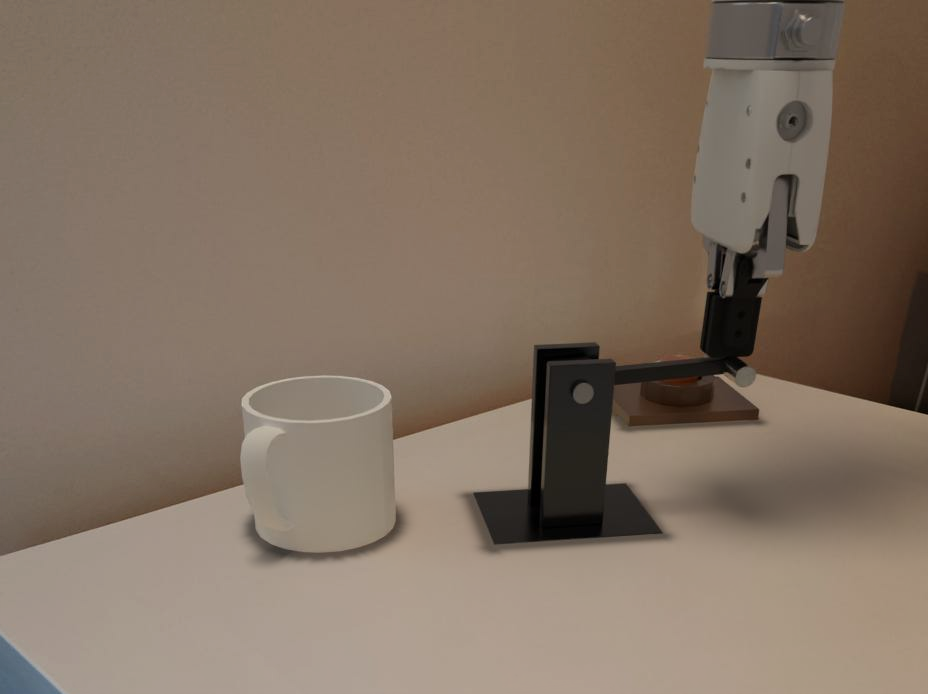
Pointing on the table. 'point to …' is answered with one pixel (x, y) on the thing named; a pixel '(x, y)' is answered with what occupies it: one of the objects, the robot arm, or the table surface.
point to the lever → (683, 370)
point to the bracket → (567, 458)
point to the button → (682, 380)
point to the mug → (319, 462)
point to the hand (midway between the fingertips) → (725, 353)
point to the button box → (681, 402)
